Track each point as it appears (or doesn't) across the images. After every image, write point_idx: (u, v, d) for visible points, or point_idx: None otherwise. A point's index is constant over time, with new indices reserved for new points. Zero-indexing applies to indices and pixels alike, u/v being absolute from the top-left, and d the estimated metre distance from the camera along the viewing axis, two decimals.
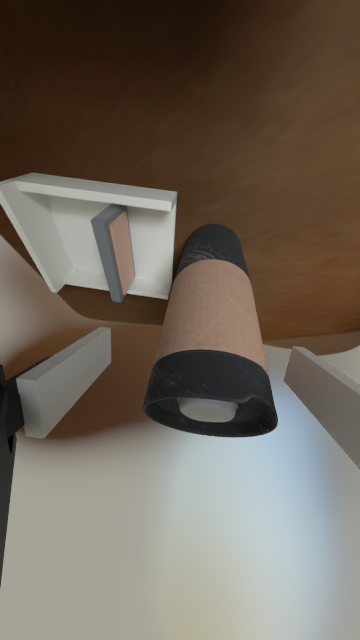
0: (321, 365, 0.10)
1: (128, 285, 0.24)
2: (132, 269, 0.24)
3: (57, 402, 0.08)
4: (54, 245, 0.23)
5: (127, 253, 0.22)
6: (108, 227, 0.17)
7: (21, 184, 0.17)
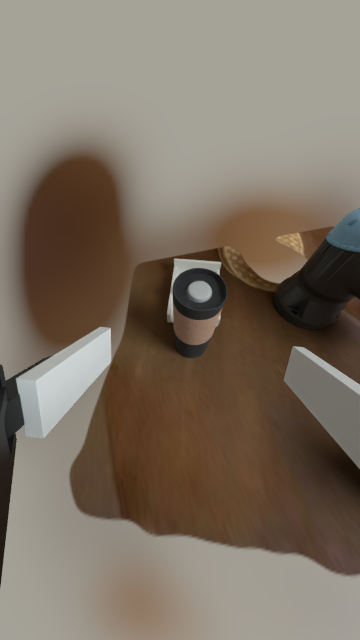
0: (321, 365, 0.10)
1: None
2: None
3: (57, 402, 0.08)
4: None
5: None
6: None
7: (218, 271, 0.48)
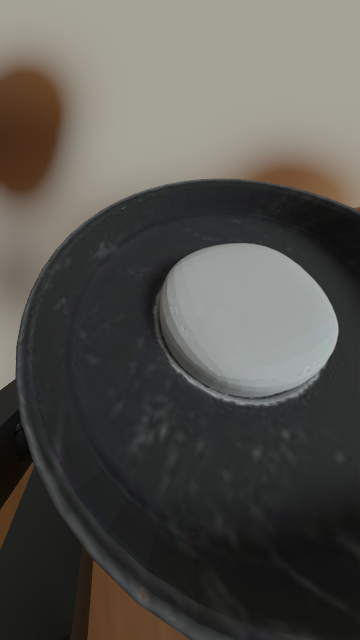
0: None
1: None
2: None
3: None
4: None
5: None
6: None
7: None
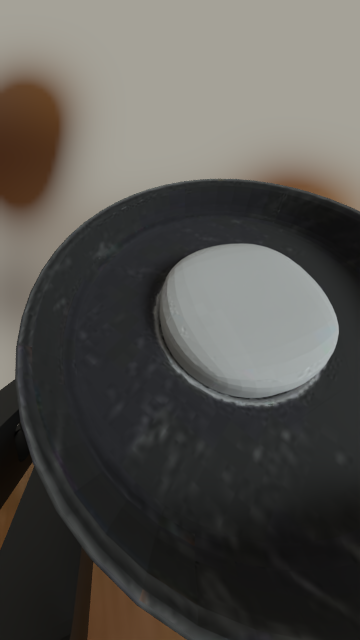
0: None
1: None
2: None
3: None
4: None
5: None
6: None
7: None
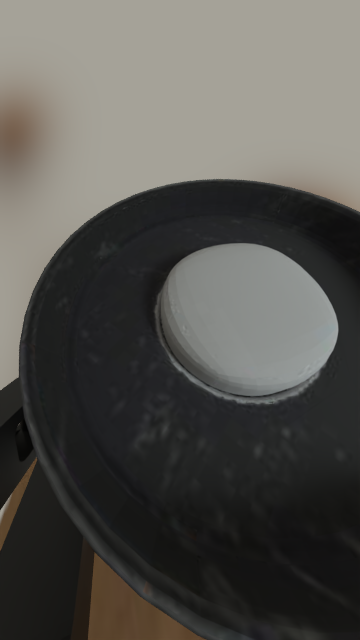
0: None
1: None
2: None
3: None
4: None
5: None
6: None
7: None
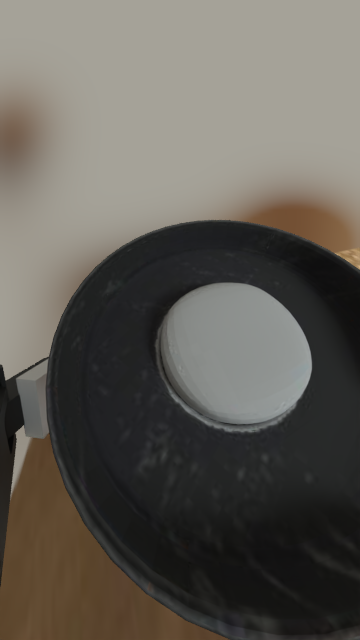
0: None
1: None
2: None
3: None
4: None
5: None
6: None
7: None
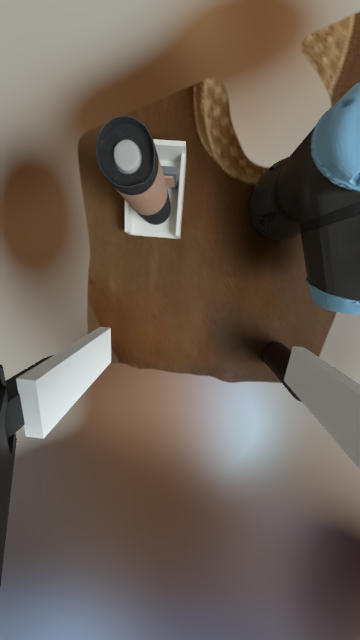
0: (321, 365, 0.10)
1: None
2: None
3: (57, 402, 0.08)
4: None
5: None
6: (172, 175, 0.35)
7: (184, 156, 0.36)
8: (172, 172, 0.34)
